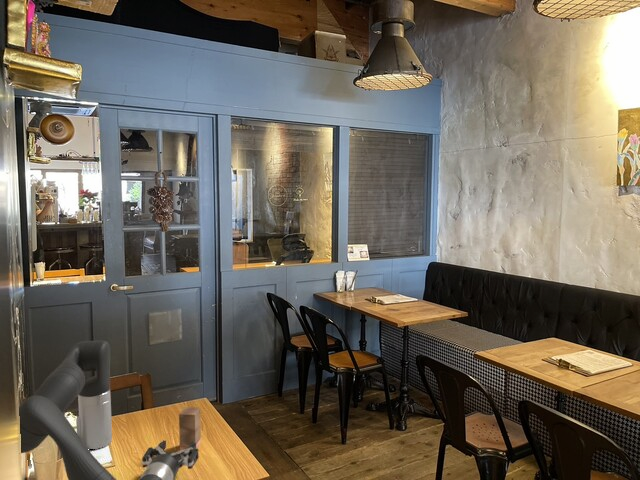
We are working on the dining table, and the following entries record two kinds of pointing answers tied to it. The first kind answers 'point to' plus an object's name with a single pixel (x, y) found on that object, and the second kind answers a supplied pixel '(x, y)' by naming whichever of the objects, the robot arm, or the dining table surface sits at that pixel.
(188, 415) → the walnut block
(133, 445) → the dining table surface
